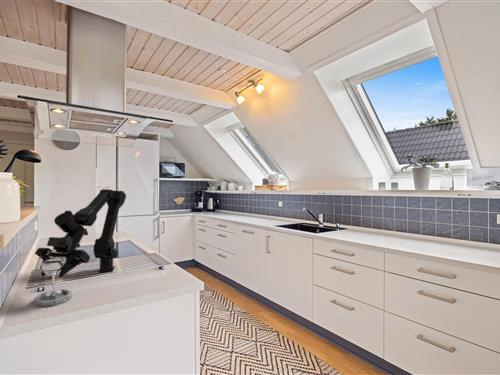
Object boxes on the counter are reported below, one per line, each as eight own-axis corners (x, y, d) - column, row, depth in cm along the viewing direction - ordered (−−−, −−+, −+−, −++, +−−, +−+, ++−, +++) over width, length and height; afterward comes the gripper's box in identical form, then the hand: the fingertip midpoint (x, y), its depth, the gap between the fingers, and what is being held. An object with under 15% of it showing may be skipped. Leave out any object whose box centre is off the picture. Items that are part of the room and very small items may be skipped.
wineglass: (45, 290, 105) (44, 258, 105) (66, 287, 108) (66, 257, 107) (40, 298, 99) (39, 264, 99) (62, 295, 102) (62, 262, 101)
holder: (42, 295, 107) (42, 290, 107) (75, 292, 110) (75, 287, 110) (28, 308, 97) (28, 303, 97) (65, 305, 100) (65, 300, 100)
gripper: (38, 226, 107) (11, 264, 97) (84, 229, 105) (62, 268, 95) (55, 241, 115) (32, 278, 105) (98, 244, 114) (79, 281, 103)
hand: (50, 276), depth 102 cm, fingers closed on wineglass, 6 cm apart
